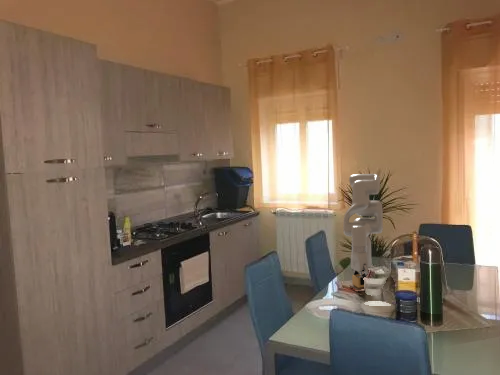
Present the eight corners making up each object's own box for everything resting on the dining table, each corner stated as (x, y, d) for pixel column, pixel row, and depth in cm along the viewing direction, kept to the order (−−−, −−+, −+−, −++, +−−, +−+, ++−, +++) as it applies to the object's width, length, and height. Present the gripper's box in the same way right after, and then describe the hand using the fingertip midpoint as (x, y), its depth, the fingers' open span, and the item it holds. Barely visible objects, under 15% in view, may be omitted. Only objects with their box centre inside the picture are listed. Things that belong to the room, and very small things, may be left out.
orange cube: (352, 284, 212) (352, 275, 212) (362, 282, 214) (362, 273, 214) (358, 287, 207) (358, 278, 206) (368, 286, 208) (368, 276, 208)
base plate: (349, 287, 213) (349, 284, 213) (362, 285, 215) (362, 283, 215) (357, 292, 205) (357, 289, 205) (371, 290, 207) (371, 287, 207)
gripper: (344, 246, 216) (345, 279, 218) (361, 253, 200) (362, 288, 201) (357, 245, 218) (358, 277, 219) (374, 251, 202) (375, 286, 203)
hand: (360, 282), depth 210 cm, fingers closed on orange cube, 5 cm apart
